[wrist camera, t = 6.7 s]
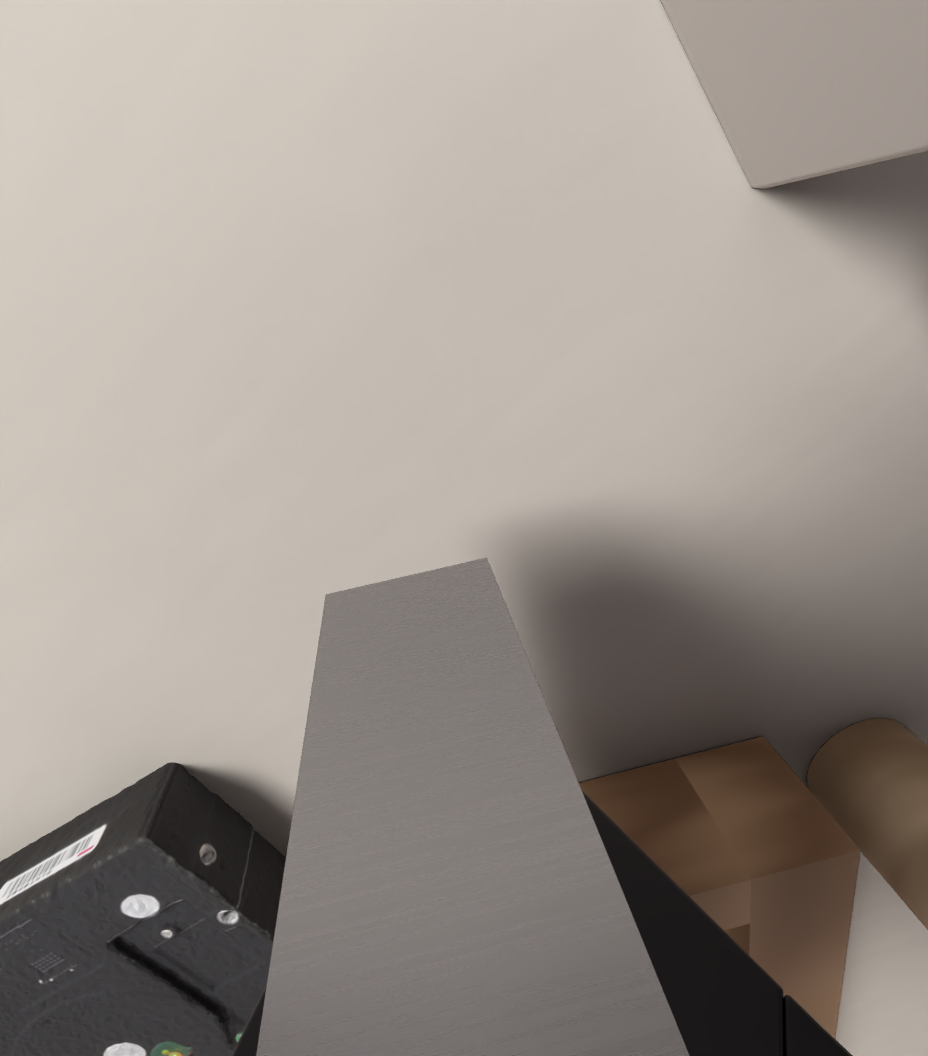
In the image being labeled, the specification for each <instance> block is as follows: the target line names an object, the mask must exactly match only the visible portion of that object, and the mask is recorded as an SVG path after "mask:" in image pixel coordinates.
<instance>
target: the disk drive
mask: <svg viewBox="0 0 928 1056" xmlns="http://www.w3.org/2000/svg"><path fill="white" fill-rule="evenodd" d="M285 862H286V858H285V857H284V856H283V855H282V854H281V853H280V852H279V851H277V849H275V848H274V847H273V846H272V845H271V844H270V843H269V842H267V841H266V840H265V839H264V838H263V837H262V836H260V835H259V834H258V833H257V832H256V831H254V829H253V827H252V825H251V824H249V823H248V822H247V821H246V820H245V819H243V817H242V816H241V815H240V814H239V813H238V812H236V811H235V810H234V809H233V808H231V807H230V806H229V805H228V804H226V803H225V802H224V801H223V800H222V799H221V798H220V797H219V796H218V795H217V794H213V793H211V792H210V791H209V790H208V789H207V788H206V787H205V786H204V785H203V784H202V783H201V782H199V781H198V780H197V779H196V778H195V777H194V776H191V775H190V774H189V773H188V772H187V770H186V769H185V768H184V767H182V766H181V765H180V764H177V763H167V764H166V765H164V766H163V767H161V768H159V769H157V770H156V771H154V772H152V773H151V774H149V775H147V776H146V777H144V778H142V779H140V780H139V781H138V782H136V783H135V784H134V785H132V786H130V787H127V788H125V789H124V790H122V791H121V792H120V793H119V794H117V795H115V796H113V797H111V798H109V799H107V800H105V801H103V802H101V803H100V804H98V805H96V806H94V807H92V808H91V809H89V810H88V811H86V812H85V813H83V814H81V815H79V816H77V817H76V818H74V819H73V820H72V821H70V822H68V823H66V824H64V825H63V826H61V827H59V828H57V829H56V830H54V831H52V832H51V833H49V834H47V835H45V836H43V837H41V838H40V839H38V840H37V841H35V842H33V843H31V844H29V845H28V846H26V847H24V848H23V849H21V850H20V851H18V852H16V853H15V854H13V855H11V856H10V857H8V858H6V859H4V860H2V861H1V862H0V1056H231V1055H232V1053H233V1051H234V1049H235V1047H236V1045H237V1043H238V1041H239V1039H240V1037H241V1035H242V1033H243V1031H244V1029H245V1027H246V1025H247V1023H248V1021H249V1019H250V1016H251V1014H252V1012H253V1010H254V1008H255V1006H256V1004H257V1002H258V1000H259V998H260V996H261V994H262V992H263V990H264V988H265V986H266V984H267V981H268V974H269V968H270V961H271V954H272V948H273V941H274V935H275V928H276V921H277V915H278V908H279V901H280V895H281V888H282V882H283V875H284V868H285Z"/></svg>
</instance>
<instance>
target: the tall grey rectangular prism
mask: <svg viewBox="0 0 928 1056" xmlns="http://www.w3.org/2000/svg"><path fill="white" fill-rule="evenodd" d="M256 1056H689V1053H688V1051H687V1048H686V1046H685V1043H684V1041H683V1039H682V1036H681V1034H680V1031H679V1029H678V1026H677V1024H676V1021H675V1019H674V1016H673V1014H672V1012H671V1009H670V1007H669V1004H668V1002H667V999H666V997H665V994H664V992H663V989H662V987H661V984H660V982H659V980H658V977H657V975H656V972H655V970H654V967H653V965H652V962H651V960H650V957H649V955H648V953H647V950H646V948H645V945H644V943H643V940H642V938H641V935H640V933H639V930H638V928H637V926H636V923H635V921H634V918H633V916H632V913H631V911H630V908H629V906H628V903H627V901H626V898H625V896H624V894H623V891H622V889H621V886H620V884H619V881H618V879H617V876H616V874H615V871H614V869H613V867H612V864H611V862H610V859H609V857H608V854H607V852H606V849H605V847H604V844H603V842H602V840H601V837H600V835H599V832H598V830H597V827H596V825H595V822H594V820H593V817H592V815H591V812H590V810H589V808H588V805H587V803H586V800H585V798H584V795H583V793H582V790H581V788H580V785H579V783H578V781H577V778H576V776H575V773H574V771H573V768H572V766H571V763H570V761H569V758H568V756H567V753H566V751H565V749H564V746H563V744H562V741H561V739H560V736H559V734H558V731H557V729H556V726H555V724H554V722H553V719H552V717H551V714H550V712H549V709H548V707H547V704H546V702H545V699H544V697H543V695H542V692H541V690H540V687H539V685H538V682H537V680H536V677H535V675H534V672H533V670H532V667H531V665H530V663H529V660H528V658H527V655H526V653H525V650H524V648H523V645H522V643H521V640H520V638H519V636H518V633H517V631H516V628H515V626H514V623H513V621H512V618H511V616H510V613H509V611H508V609H507V606H506V604H505V601H504V599H503V596H502V594H501V591H500V589H499V586H498V584H497V581H496V579H495V577H494V574H493V572H492V569H491V567H490V564H489V562H488V559H487V558H484V559H479V560H475V561H471V562H466V563H462V564H458V565H453V566H449V567H444V568H440V569H436V570H431V571H427V572H423V573H418V574H414V575H409V576H405V577H401V578H396V579H392V580H388V581H383V582H379V583H374V584H370V585H366V586H361V587H357V588H353V589H348V590H344V591H340V592H335V593H331V594H326V597H325V604H324V610H323V617H322V624H321V630H320V637H319V643H318V650H317V657H316V663H315V670H314V676H313V683H312V690H311V696H310V703H309V710H308V716H307V723H306V729H305V736H304V743H303V749H302V756H301V762H300V769H299V776H298V782H297V789H296V796H295V802H294V809H293V815H292V822H291V829H290V835H289V842H288V848H287V855H286V862H285V868H284V875H283V882H282V888H281V895H280V901H279V908H278V915H277V921H276V928H275V935H274V941H273V948H272V954H271V961H270V968H269V974H268V981H267V987H266V994H265V1001H264V1007H263V1014H262V1021H261V1027H260V1034H259V1040H258V1047H257V1054H256Z"/></svg>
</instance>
